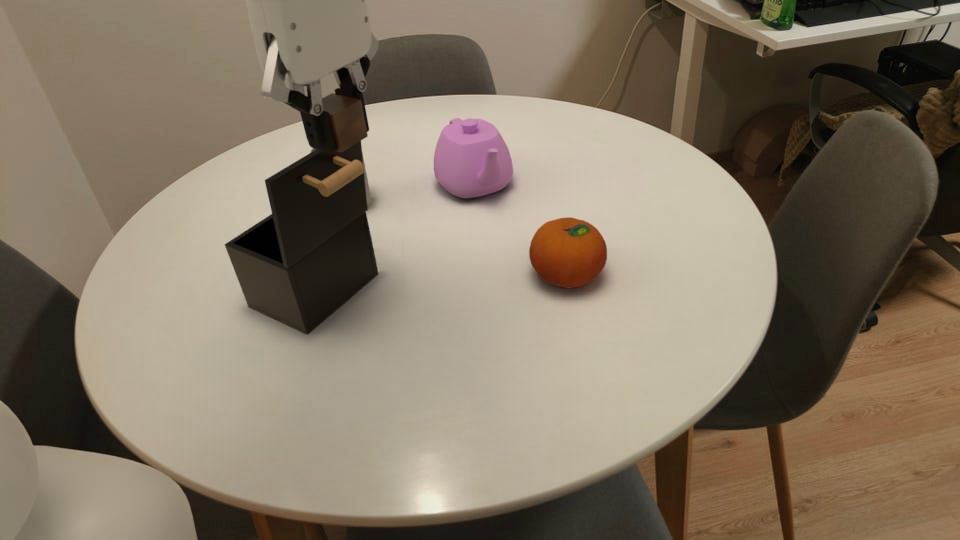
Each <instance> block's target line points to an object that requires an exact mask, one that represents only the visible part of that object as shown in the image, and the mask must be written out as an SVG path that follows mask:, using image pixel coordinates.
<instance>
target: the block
mask: <svg viewBox="0 0 960 540" xmlns="http://www.w3.org/2000/svg"><path fill="white" fill-rule="evenodd" d="M322 104H323V111H326V112H329V115H330V119H331V124H332V128H333V133H334V137H335V142H336V146H337V150H336V151H337V152H343V151H345V150H346V149H348V148H350V147H351V146H353V145H355V144H356V143H358V142H359V141H361V142H362V141H363V140H364V139H366V138H368V137H369V136H368V132H367V129H366V124H365V119H364V113H363V108H362V103H361V100H359V99H355V98H351V97H346V96H342V95H338V94H335V92H333V93H329V94H328V95H326V96H324V97H322Z"/></svg>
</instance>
